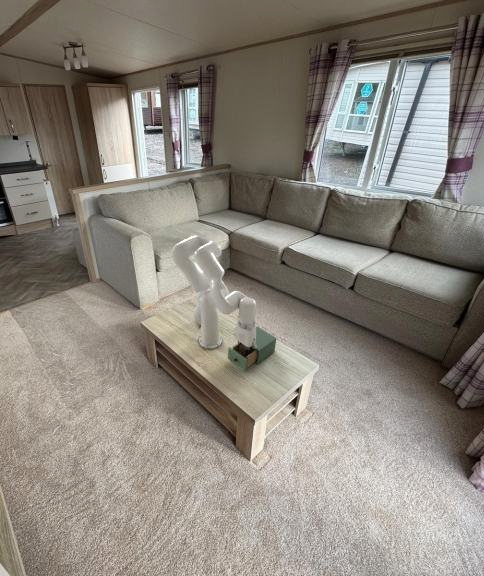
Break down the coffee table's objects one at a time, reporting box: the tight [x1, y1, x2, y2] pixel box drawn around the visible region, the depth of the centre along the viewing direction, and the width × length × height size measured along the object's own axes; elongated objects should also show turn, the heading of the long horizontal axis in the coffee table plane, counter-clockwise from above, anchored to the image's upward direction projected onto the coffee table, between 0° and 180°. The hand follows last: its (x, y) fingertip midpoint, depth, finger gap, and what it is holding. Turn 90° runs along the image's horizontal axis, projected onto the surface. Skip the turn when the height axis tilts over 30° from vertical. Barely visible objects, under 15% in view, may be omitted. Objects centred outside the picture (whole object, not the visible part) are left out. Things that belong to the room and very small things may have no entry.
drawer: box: [227, 343, 258, 372], centre depth 150 cm, size 14×11×7 cm
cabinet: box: [254, 326, 277, 365], centre depth 156 cm, size 14×13×9 cm
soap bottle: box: [192, 287, 219, 326], centre depth 173 cm, size 17×12×29 cm
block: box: [239, 344, 247, 355], centre depth 148 cm, size 4×4×4 cm
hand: (244, 351), depth 149 cm, fingers closed on block, 4 cm apart
